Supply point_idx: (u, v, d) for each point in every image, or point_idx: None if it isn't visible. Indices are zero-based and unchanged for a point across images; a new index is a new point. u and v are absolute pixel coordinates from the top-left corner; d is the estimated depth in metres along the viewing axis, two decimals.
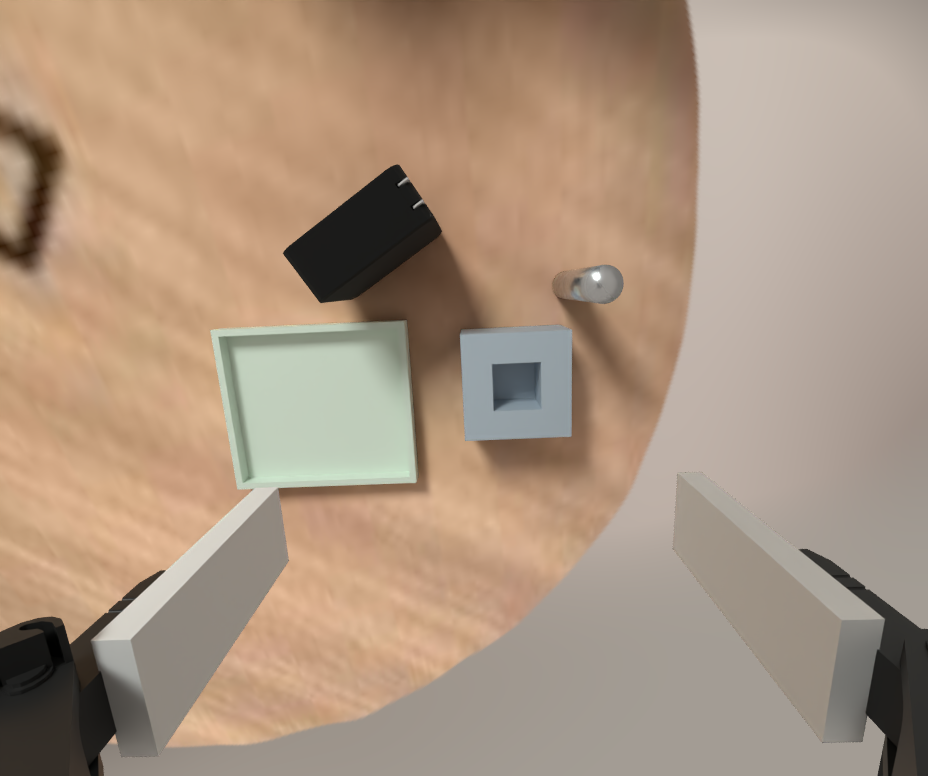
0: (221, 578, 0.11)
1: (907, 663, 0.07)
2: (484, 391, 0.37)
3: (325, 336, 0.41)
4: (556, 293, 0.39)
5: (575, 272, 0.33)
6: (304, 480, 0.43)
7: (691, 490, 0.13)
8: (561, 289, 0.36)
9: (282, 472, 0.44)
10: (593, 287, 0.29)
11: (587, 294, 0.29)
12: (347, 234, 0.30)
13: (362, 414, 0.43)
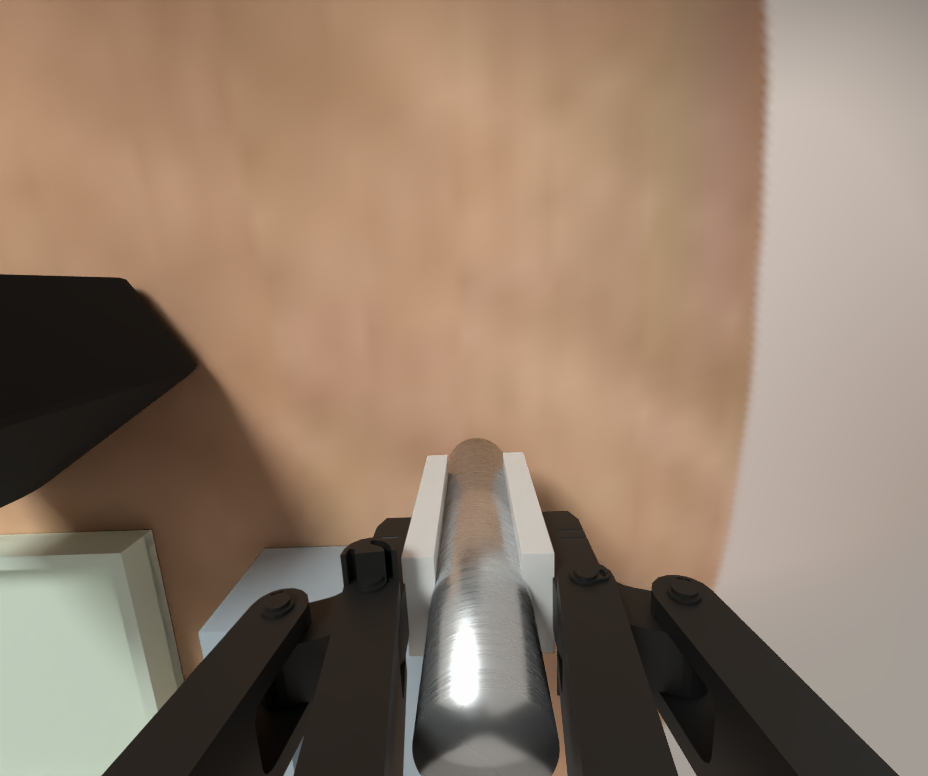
0: (442, 523, 0.13)
1: (560, 596, 0.09)
2: None
3: None
4: None
5: (450, 541, 0.12)
6: None
7: (504, 467, 0.16)
8: None
9: None
10: (443, 758, 0.07)
11: None
12: None
13: (80, 703, 0.21)
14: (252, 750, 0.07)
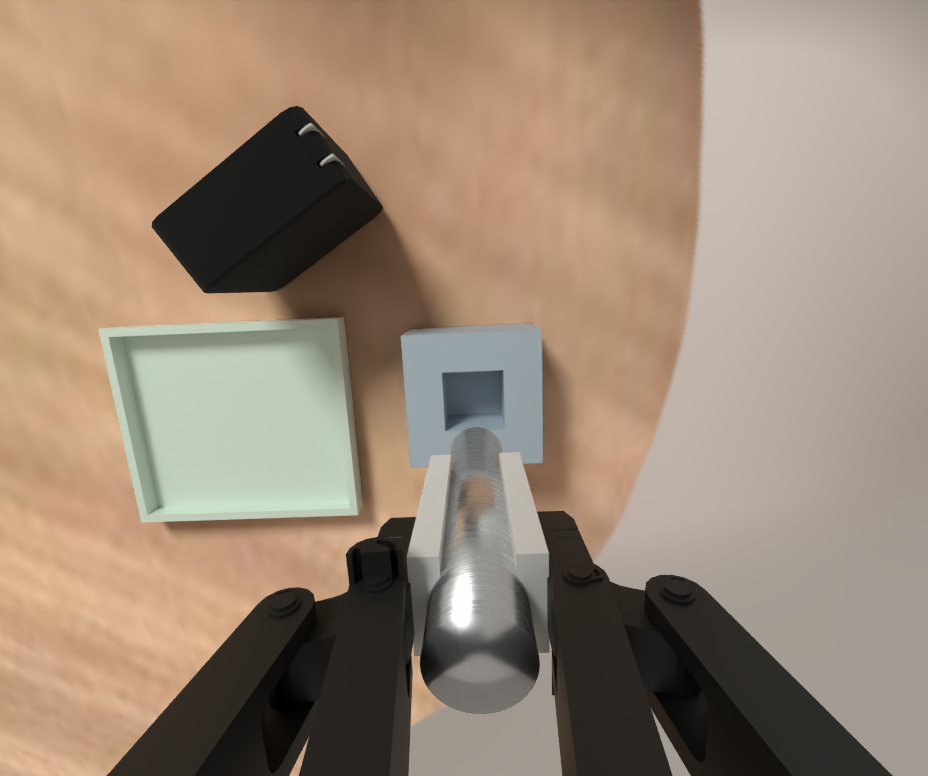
0: None
1: (554, 596, 0.09)
2: (432, 406, 0.30)
3: (244, 336, 0.33)
4: None
5: (451, 510, 0.13)
6: (222, 511, 0.35)
7: (500, 467, 0.16)
8: None
9: (198, 501, 0.36)
10: (445, 671, 0.09)
11: (430, 684, 0.09)
12: (233, 201, 0.22)
13: (292, 432, 0.35)
14: (258, 749, 0.07)
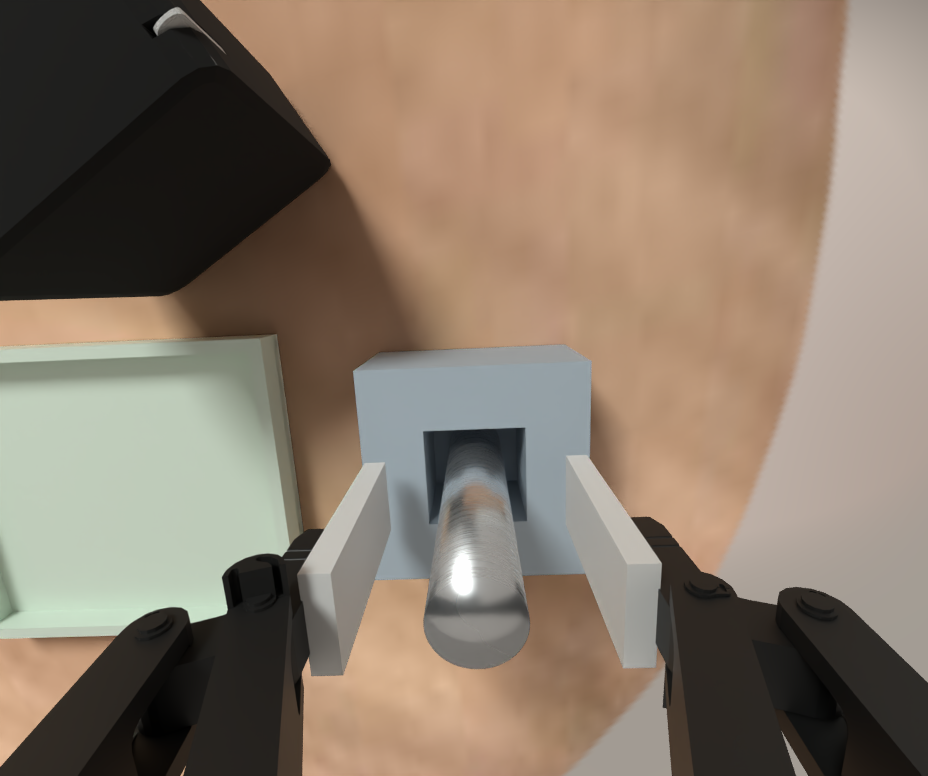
0: (363, 535, 0.13)
1: (673, 604, 0.09)
2: (408, 484, 0.18)
3: (123, 364, 0.22)
4: None
5: (451, 494, 0.15)
6: (100, 624, 0.24)
7: (571, 470, 0.15)
8: None
9: (70, 603, 0.25)
10: (446, 630, 0.10)
11: (432, 643, 0.10)
12: None
13: (203, 505, 0.23)
14: None
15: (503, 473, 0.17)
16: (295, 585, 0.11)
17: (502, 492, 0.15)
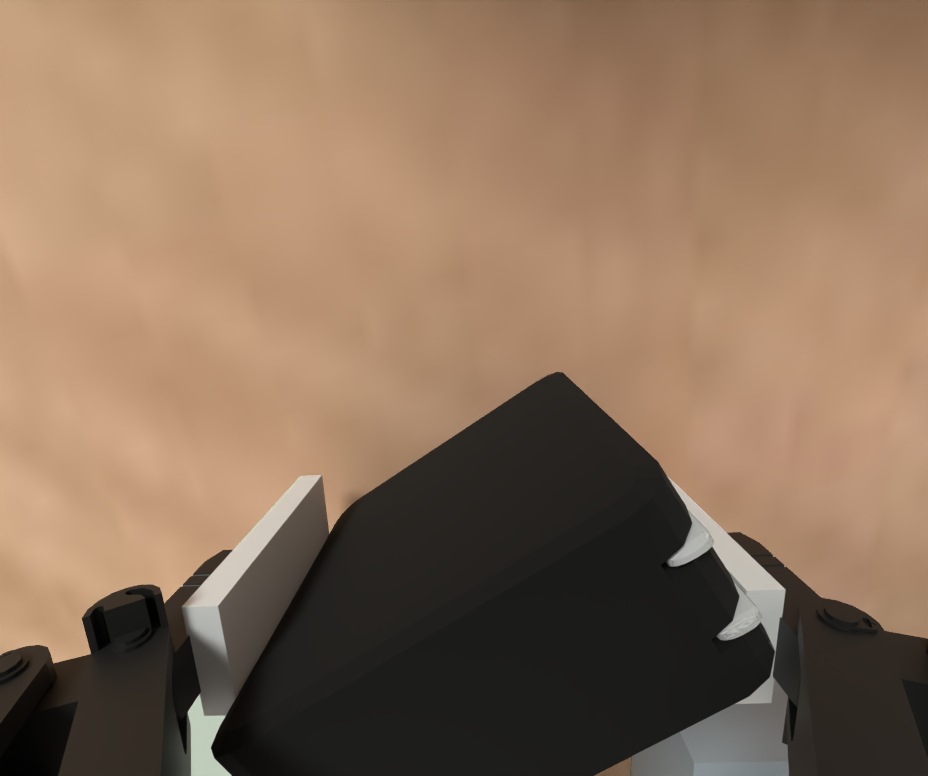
0: (281, 557, 0.12)
1: (802, 631, 0.08)
2: None
3: None
4: None
5: None
6: None
7: None
8: None
9: None
10: None
11: None
12: (451, 725, 0.08)
13: None
14: None
15: None
16: None
17: None
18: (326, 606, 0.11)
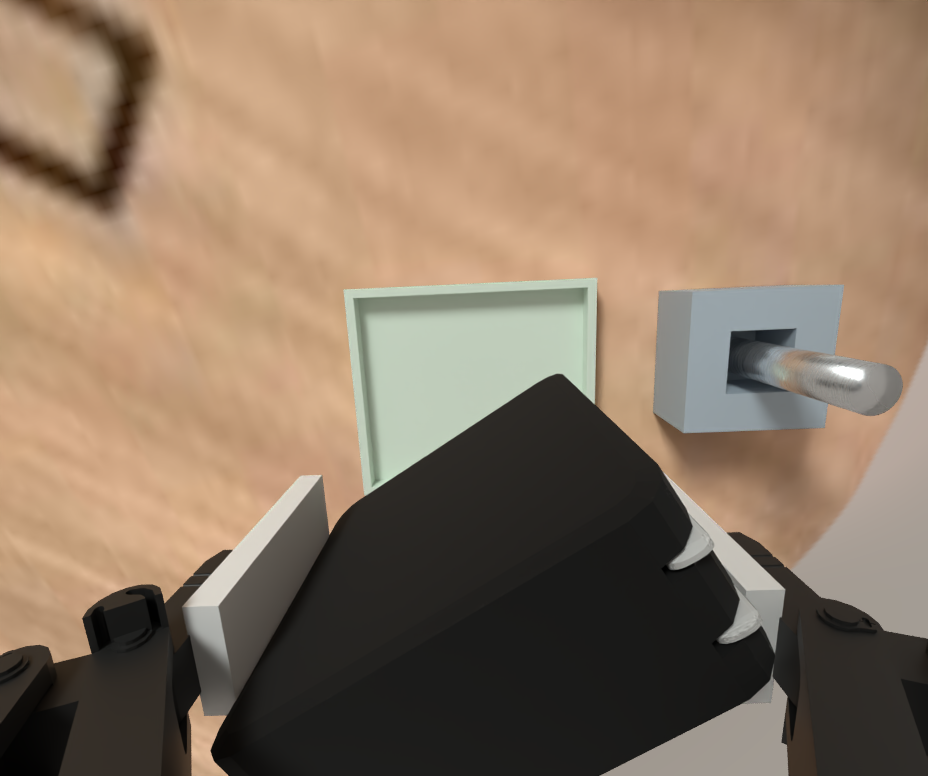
0: (281, 557, 0.12)
1: (802, 631, 0.08)
2: (716, 367, 0.28)
3: (486, 299, 0.32)
4: None
5: (788, 355, 0.25)
6: None
7: None
8: (743, 367, 0.28)
9: None
10: (859, 393, 0.20)
11: (848, 402, 0.21)
12: (451, 728, 0.08)
13: None
14: None
15: None
16: None
17: None
18: (326, 609, 0.11)
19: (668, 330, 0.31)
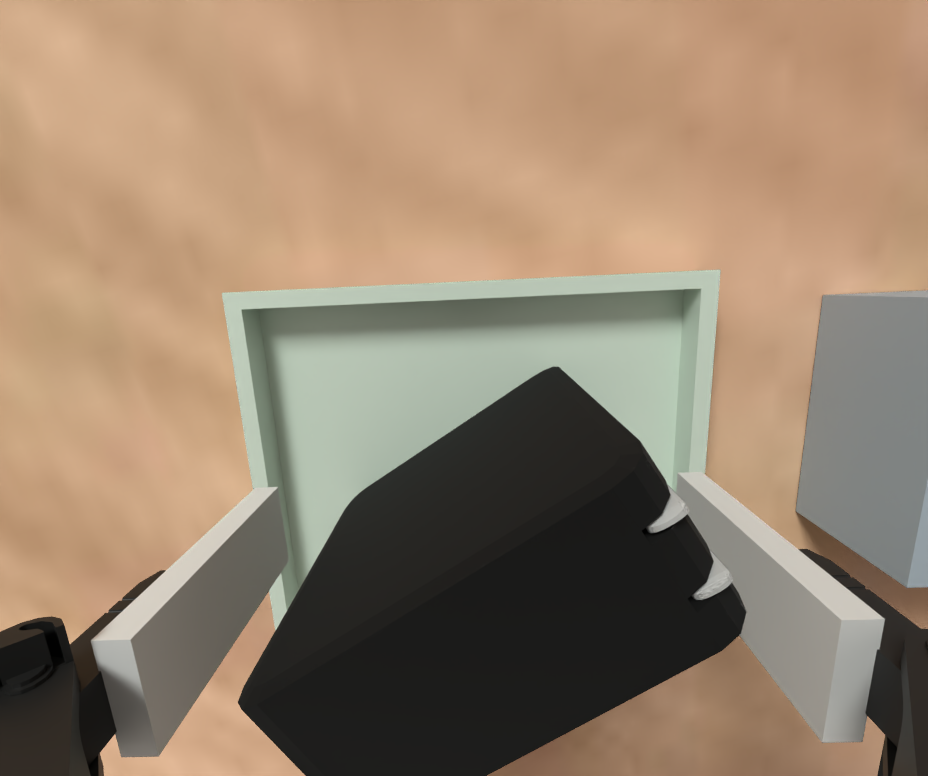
0: (221, 578, 0.11)
1: (907, 663, 0.07)
2: None
3: (500, 310, 0.17)
4: None
5: None
6: None
7: (691, 490, 0.13)
8: None
9: None
10: None
11: None
12: (455, 677, 0.09)
13: None
14: None
15: None
16: None
17: None
18: (339, 580, 0.12)
19: (854, 372, 0.16)
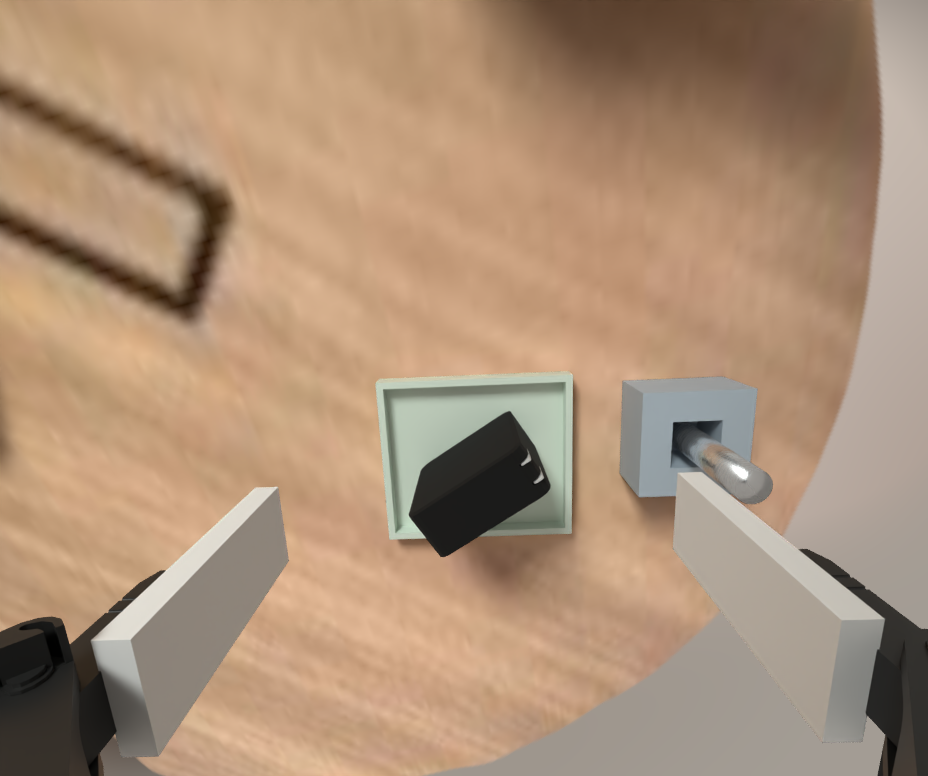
0: (221, 578, 0.11)
1: (907, 663, 0.07)
2: (662, 448, 0.37)
3: (486, 387, 0.41)
4: None
5: (707, 448, 0.33)
6: None
7: (691, 491, 0.13)
8: (681, 448, 0.37)
9: None
10: (742, 489, 0.29)
11: (735, 494, 0.29)
12: (471, 505, 0.32)
13: None
14: None
15: None
16: None
17: None
18: (432, 487, 0.35)
19: (628, 414, 0.40)
